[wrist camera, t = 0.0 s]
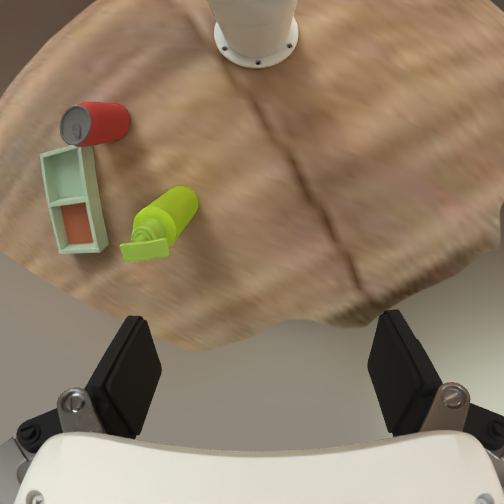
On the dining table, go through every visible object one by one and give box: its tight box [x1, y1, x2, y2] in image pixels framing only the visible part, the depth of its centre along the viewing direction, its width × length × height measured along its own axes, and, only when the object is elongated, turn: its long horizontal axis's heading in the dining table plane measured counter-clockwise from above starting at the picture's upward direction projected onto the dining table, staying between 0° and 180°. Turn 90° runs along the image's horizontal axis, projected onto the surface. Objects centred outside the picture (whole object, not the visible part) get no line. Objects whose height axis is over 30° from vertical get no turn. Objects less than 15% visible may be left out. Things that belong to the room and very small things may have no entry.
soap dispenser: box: [120, 186, 199, 262], centre depth 37 cm, size 6×7×20 cm
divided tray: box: [40, 145, 109, 254], centre depth 45 cm, size 19×10×4 cm, turn 3°
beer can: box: [60, 102, 130, 147], centre depth 36 cm, size 7×7×12 cm
